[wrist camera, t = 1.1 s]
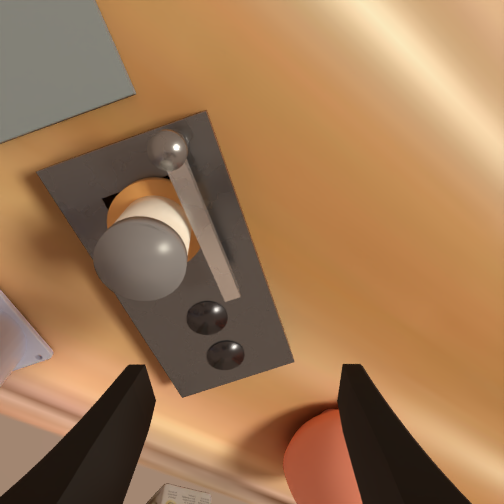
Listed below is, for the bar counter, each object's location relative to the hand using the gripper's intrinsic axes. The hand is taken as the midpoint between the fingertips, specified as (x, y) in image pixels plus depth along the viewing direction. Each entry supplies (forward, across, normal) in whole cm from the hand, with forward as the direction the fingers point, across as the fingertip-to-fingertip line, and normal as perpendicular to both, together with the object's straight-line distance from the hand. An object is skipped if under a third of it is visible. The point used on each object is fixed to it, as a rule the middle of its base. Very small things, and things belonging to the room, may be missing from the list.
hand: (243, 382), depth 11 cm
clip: (+10, +3, -3) cm, 11 cm away
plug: (+12, +6, -2) cm, 13 cm away
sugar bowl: (+13, -8, +24) cm, 28 cm away
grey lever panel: (+12, +5, +3) cm, 13 cm away
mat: (+11, +12, -12) cm, 20 cm away
